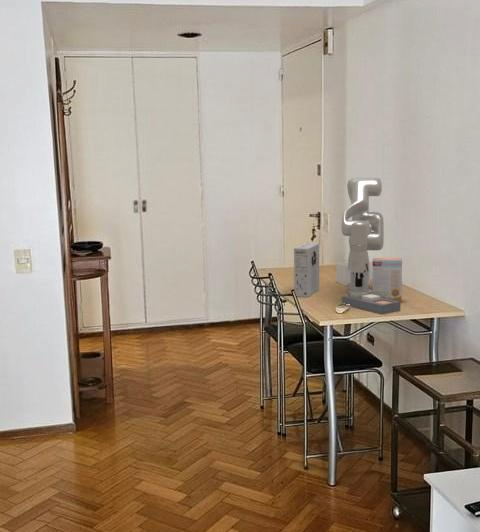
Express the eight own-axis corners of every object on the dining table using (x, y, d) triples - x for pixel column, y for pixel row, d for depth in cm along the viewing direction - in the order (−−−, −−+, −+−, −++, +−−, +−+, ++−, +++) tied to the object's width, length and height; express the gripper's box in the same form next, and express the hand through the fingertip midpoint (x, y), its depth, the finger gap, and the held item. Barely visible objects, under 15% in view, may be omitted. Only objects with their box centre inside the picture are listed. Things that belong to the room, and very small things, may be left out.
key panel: (342, 304, 333) (342, 296, 332) (360, 301, 339) (360, 293, 339) (381, 314, 311) (381, 305, 311) (400, 310, 318) (400, 301, 318)
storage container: (375, 279, 397) (375, 260, 395) (385, 282, 387) (386, 262, 385) (336, 282, 388) (336, 263, 386) (346, 286, 378) (346, 266, 376)
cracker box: (401, 300, 340) (402, 257, 336) (401, 302, 334) (402, 259, 330) (372, 299, 343) (372, 257, 339) (371, 301, 337) (372, 259, 334)
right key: (373, 307, 319) (373, 302, 319) (383, 305, 323) (383, 300, 322) (383, 309, 315) (383, 304, 314) (392, 308, 318) (392, 302, 318)
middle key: (361, 300, 326) (361, 295, 325) (370, 299, 329) (370, 294, 329) (370, 303, 321) (370, 297, 320) (379, 301, 324) (380, 296, 324)
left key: (349, 298, 332) (349, 293, 332) (358, 296, 336) (358, 291, 335) (358, 300, 327) (358, 295, 327) (367, 298, 331) (367, 293, 330)
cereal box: (305, 288, 373) (305, 242, 369) (319, 289, 370) (319, 242, 366) (294, 296, 353) (293, 247, 349) (308, 297, 350) (308, 248, 346)
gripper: (342, 247, 331) (342, 285, 334) (364, 250, 319) (364, 289, 322) (353, 246, 336) (353, 283, 338) (376, 249, 323) (375, 287, 326)
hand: (358, 286), depth 330 cm, fingers closed
